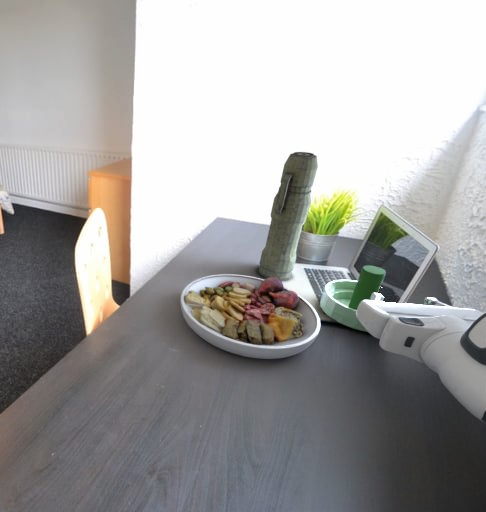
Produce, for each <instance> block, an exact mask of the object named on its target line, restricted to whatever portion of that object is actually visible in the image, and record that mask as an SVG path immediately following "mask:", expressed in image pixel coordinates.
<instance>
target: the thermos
mask: <svg viewBox="0 0 486 512" xmlns="http://www.w3.org/2000/svg"><path fill="white" fill-rule="evenodd" d="M318 167H319V166H318V157H317V155H316V154H314V153H312V152H307V151H295V152H294V151H293V153H290V154H289V155H288V157H287V159H286V161H284V164H283V167H282V169H283V170H282V173H281V177H280V186H279V187H278V191H277V193H276V194H275V196H274V199H273V202H272V206H271V211H270V219H271V220H270V224H269V229H268V233H267V237H266V241H265V246H264V248H263V249H262V250H261V255H260V260H259V267H258V273H259V274H260V275H261V276H262V277H264V278H265V279H267V278H270V277H274V278H278V279H279V280H281V282H283V281H288V280H289V279H291V276H292V272H293V270H294V268H295V265H296V260H297V249H298V245H299V240H300V238H301V237H300V236H301V233H302V229H303V226H304V224H305V223H306V221H307V219H308V215H309V211H310V207H311V203H312V197H311V194H312V187H313V186H314V181H315V178H316V174H317V171H318Z"/></svg>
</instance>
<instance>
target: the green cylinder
mask: <svg viewBox="0 0 486 512" xmlns="http://www.w3.org/2000/svg"><path fill="white" fill-rule="evenodd" d="M386 274H387V271H386V270H385V269H384V268H382V267H379V266H375V265H372V264H371V265H369V264H367V265H363V266H362V268H361V270H360V273H359V276H358V279H357V280H356V281H357V284H356V287H355V290H354V292H353V295H352V298H351V300H350V303H349V306H348V307H349V308H352V309H355V310H357V308H358V306H359V304H360V302H361V301H362V300H371V299H370V298H371V295H372V293H378V292H379V289H380V287H381V288H382V284H383V281H384V279H385V277H386Z"/></svg>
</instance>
